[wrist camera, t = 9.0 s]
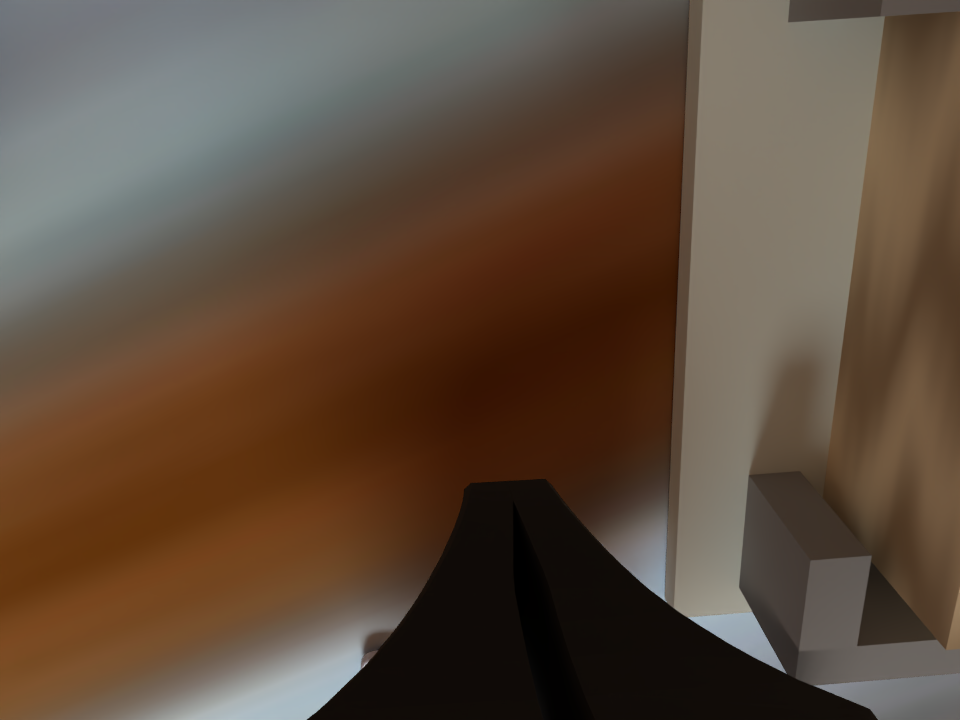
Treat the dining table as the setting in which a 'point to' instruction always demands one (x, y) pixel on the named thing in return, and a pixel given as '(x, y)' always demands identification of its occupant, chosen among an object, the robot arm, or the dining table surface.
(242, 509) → the dining table surface
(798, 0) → the cradle
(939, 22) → the wooden block
